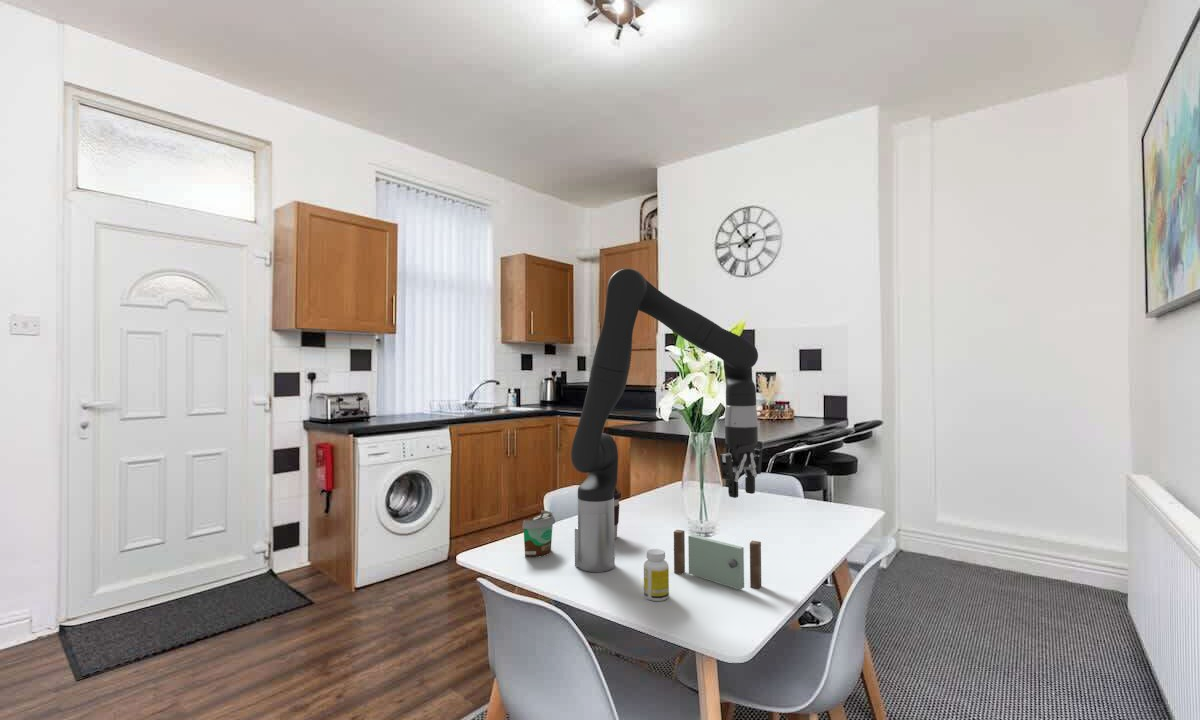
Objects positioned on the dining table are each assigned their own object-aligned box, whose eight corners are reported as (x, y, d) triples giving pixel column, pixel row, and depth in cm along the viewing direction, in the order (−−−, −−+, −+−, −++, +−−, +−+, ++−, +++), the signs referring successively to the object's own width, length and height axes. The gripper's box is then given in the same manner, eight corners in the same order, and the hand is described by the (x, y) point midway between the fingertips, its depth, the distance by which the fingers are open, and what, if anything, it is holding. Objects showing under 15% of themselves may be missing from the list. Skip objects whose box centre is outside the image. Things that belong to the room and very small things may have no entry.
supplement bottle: (673, 596, 121) (673, 551, 121) (659, 604, 116) (658, 557, 117) (653, 589, 124) (653, 546, 124) (638, 597, 120) (638, 552, 120)
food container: (543, 561, 143) (543, 522, 144) (522, 559, 145) (522, 520, 146) (562, 547, 155) (562, 511, 155) (542, 544, 157) (542, 509, 157)
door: (686, 574, 132) (685, 536, 132) (692, 571, 134) (692, 534, 134) (737, 591, 122) (737, 549, 122) (744, 587, 124) (743, 547, 124)
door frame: (674, 573, 134) (673, 531, 135) (677, 570, 136) (676, 529, 136) (759, 588, 124) (758, 544, 124) (761, 585, 126) (760, 541, 126)
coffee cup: (602, 530, 170) (601, 481, 171) (628, 536, 164) (627, 486, 164) (581, 538, 163) (580, 487, 163) (607, 544, 157) (606, 491, 157)
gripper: (735, 427, 124) (736, 502, 124) (772, 423, 133) (773, 493, 133) (709, 425, 130) (710, 497, 130) (745, 421, 139) (746, 488, 139)
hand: (742, 494), depth 131 cm, fingers open, 6 cm apart
